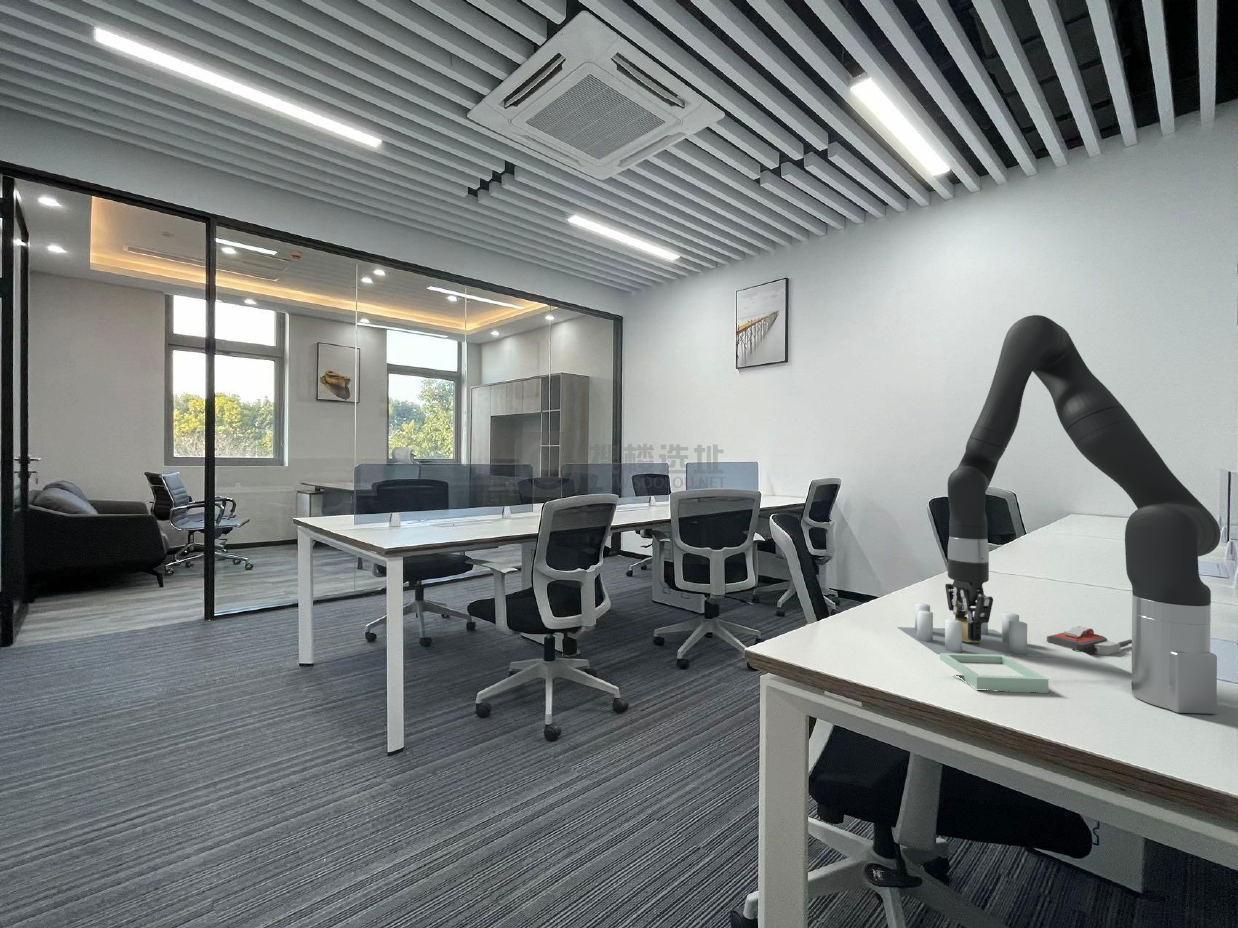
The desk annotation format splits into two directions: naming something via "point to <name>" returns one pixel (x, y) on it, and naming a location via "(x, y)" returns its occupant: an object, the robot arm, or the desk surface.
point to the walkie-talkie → (1086, 641)
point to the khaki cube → (965, 630)
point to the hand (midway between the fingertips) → (967, 636)
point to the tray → (1000, 683)
